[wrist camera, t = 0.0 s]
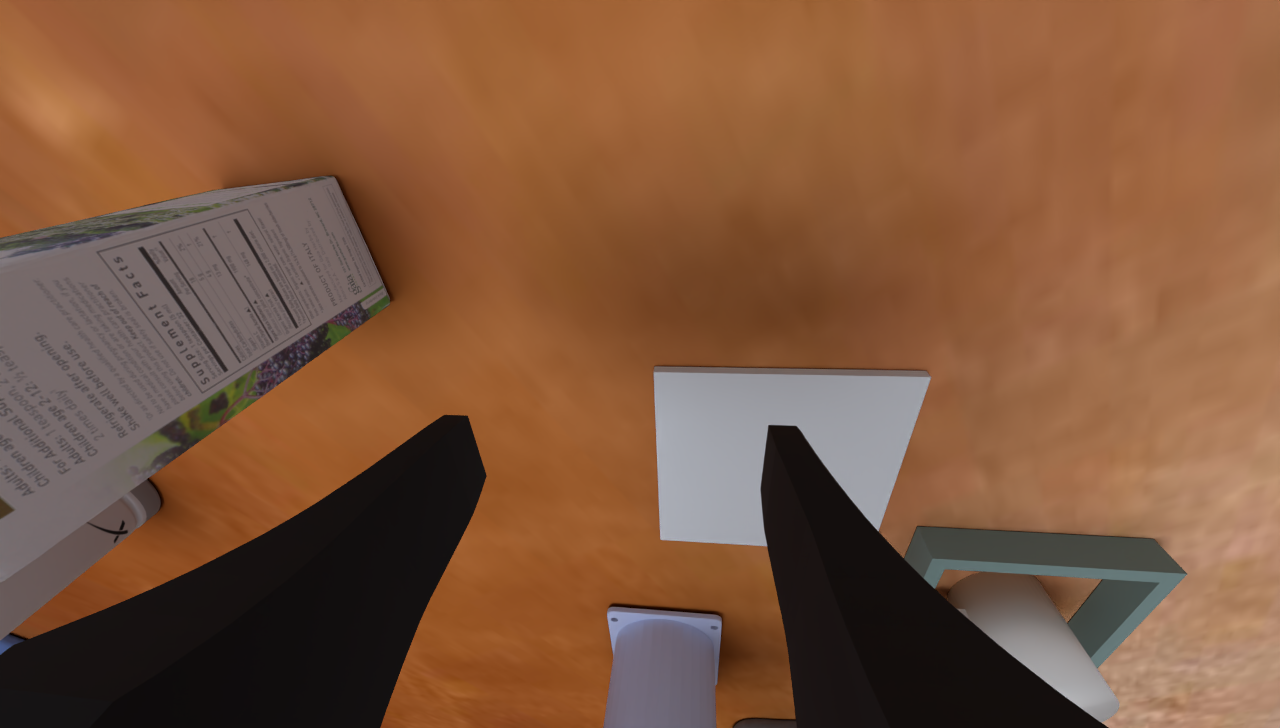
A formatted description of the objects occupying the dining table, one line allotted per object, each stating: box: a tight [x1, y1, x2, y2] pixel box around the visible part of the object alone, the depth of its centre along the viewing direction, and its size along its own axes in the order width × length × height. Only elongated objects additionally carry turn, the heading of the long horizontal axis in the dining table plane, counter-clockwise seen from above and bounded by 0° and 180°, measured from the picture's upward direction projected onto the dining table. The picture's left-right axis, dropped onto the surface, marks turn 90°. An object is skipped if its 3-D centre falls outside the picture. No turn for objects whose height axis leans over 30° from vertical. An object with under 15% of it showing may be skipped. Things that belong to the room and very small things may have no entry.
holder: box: [904, 526, 1187, 668], centre depth 27 cm, size 12×12×2 cm
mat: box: [654, 366, 931, 546], centre depth 24 cm, size 12×12×1 cm
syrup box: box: [0, 176, 390, 582], centre depth 14 cm, size 6×6×14 cm
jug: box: [947, 572, 1119, 722], centre depth 26 cm, size 7×5×6 cm
